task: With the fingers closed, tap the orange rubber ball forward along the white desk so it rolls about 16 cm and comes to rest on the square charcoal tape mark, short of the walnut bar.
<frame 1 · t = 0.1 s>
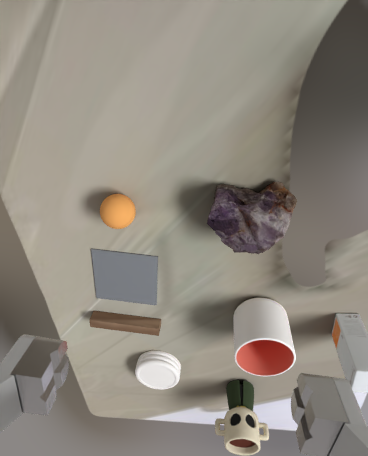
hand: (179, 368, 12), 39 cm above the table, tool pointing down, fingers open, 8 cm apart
character mug: (239, 385, 76), on the table
skincare box: (343, 323, 63), on the table
ball: (117, 211, 51), on the table
rock: (248, 204, 51), on the table
grey mark: (125, 277, 62), on the table
walnut bar: (127, 318, 68), on the table
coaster: (159, 362, 76), on the table
cup: (259, 312, 63), on the table
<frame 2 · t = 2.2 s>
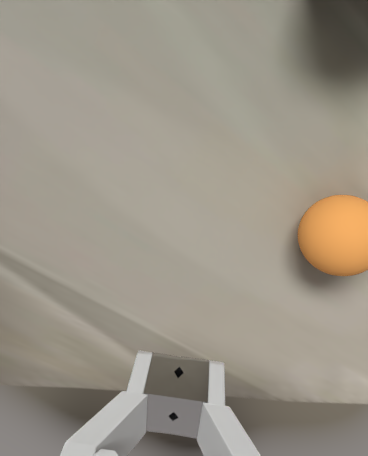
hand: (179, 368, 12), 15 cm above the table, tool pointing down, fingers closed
ball: (340, 235, 22), on the table
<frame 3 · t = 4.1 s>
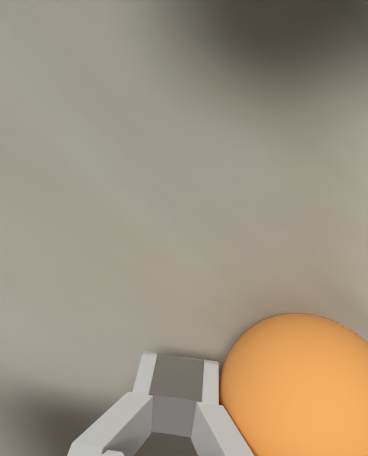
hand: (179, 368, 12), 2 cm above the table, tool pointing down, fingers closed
ball: (303, 401, 10), on the table, touching gripper
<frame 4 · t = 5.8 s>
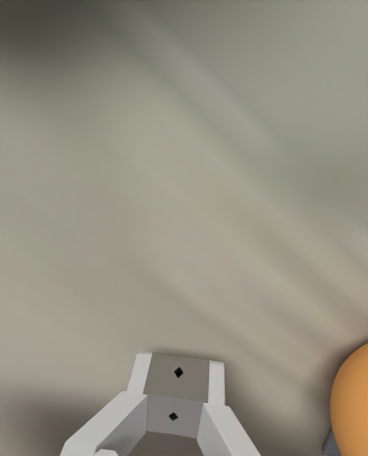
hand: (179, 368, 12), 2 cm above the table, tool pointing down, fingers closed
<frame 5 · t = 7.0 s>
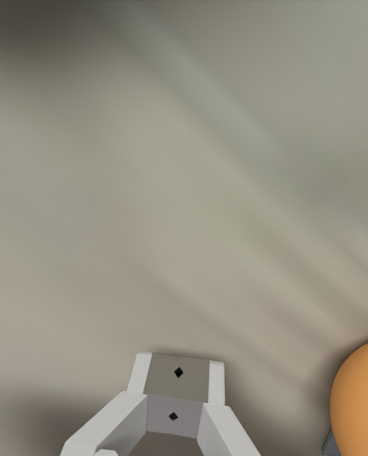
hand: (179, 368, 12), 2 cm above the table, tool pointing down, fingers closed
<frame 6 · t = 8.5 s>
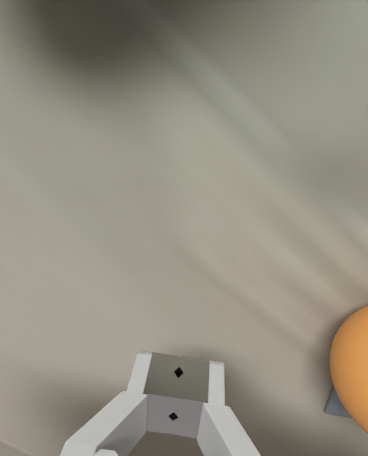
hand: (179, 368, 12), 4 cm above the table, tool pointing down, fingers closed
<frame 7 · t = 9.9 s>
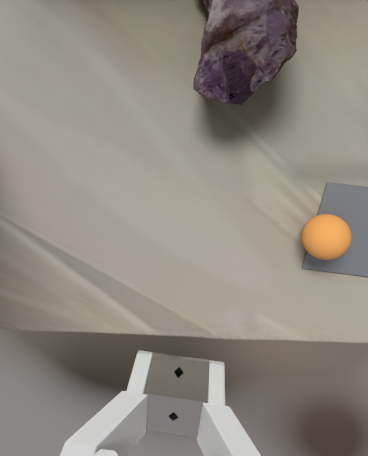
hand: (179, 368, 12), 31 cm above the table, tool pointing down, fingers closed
ball: (325, 236, 39), on the table
rock: (239, 33, 33), on the table
grey mark: (362, 233, 41), on the table
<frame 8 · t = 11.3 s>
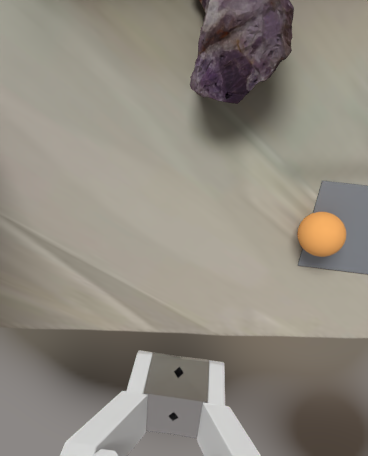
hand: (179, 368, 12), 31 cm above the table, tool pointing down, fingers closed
ball: (321, 234, 40), on the table
rock: (235, 33, 34), on the table
grey mark: (356, 231, 42), on the table
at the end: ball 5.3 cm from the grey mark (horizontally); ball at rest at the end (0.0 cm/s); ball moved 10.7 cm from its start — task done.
